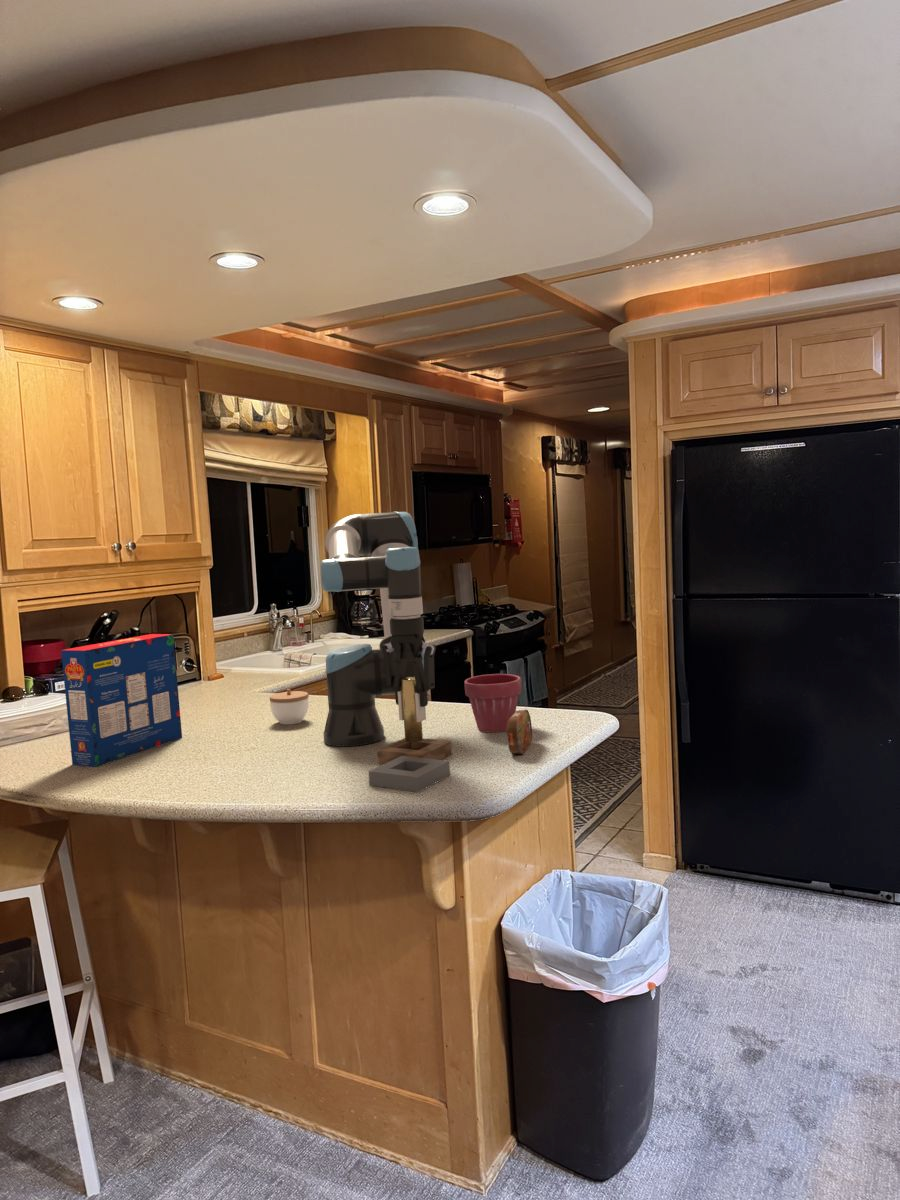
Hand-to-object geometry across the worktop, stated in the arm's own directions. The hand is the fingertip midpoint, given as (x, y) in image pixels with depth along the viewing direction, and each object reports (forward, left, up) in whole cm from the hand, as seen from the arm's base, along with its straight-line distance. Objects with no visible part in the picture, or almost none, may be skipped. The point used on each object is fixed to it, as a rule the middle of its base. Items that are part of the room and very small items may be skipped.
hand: (412, 719), depth 186 cm
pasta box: (-75, -18, -9) cm, 78 cm away
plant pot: (+4, +31, -9) cm, 32 cm away
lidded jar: (-55, +20, -9) cm, 59 cm away
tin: (+19, +15, -9) cm, 26 cm away
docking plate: (+8, -14, -9) cm, 19 cm away
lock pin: (0, 0, -5) cm, 5 cm away
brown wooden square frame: (0, 0, -9) cm, 9 cm away
